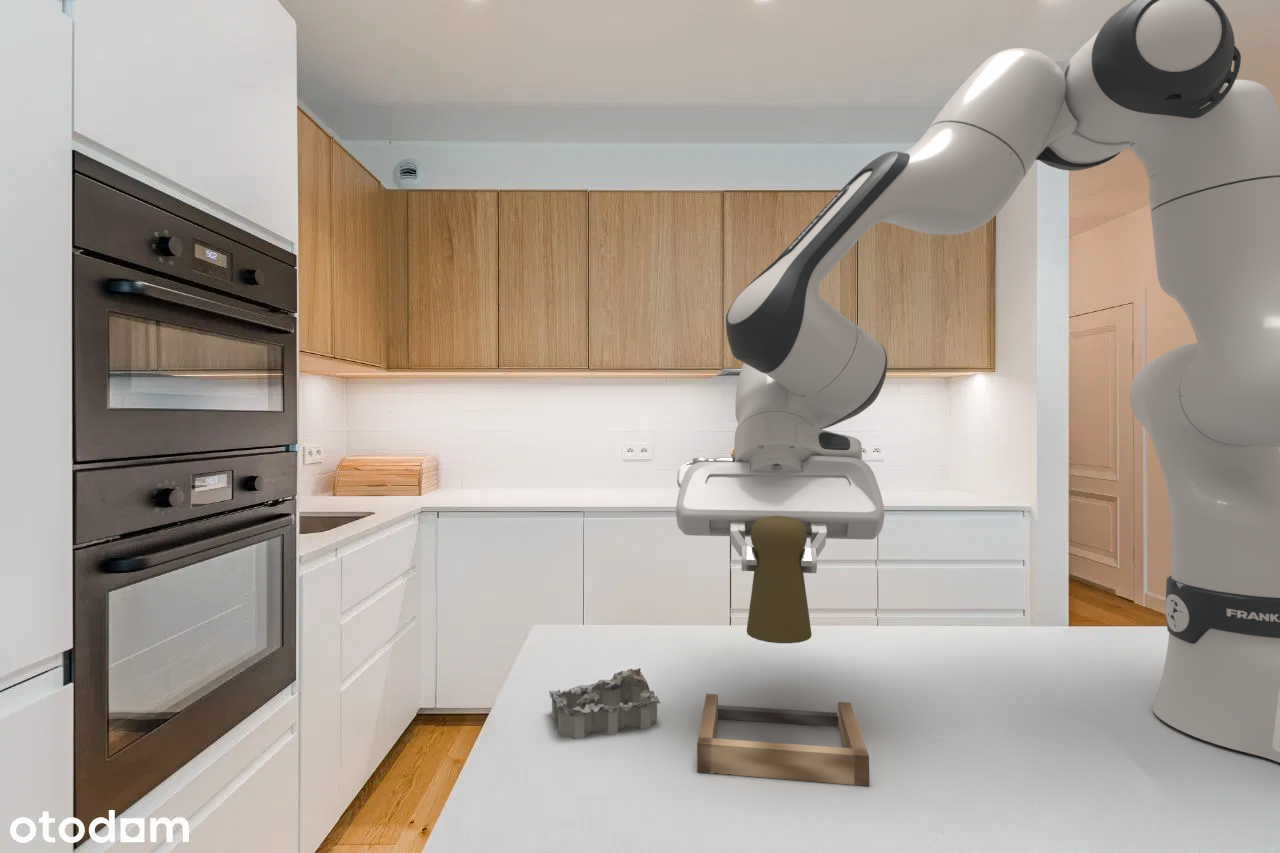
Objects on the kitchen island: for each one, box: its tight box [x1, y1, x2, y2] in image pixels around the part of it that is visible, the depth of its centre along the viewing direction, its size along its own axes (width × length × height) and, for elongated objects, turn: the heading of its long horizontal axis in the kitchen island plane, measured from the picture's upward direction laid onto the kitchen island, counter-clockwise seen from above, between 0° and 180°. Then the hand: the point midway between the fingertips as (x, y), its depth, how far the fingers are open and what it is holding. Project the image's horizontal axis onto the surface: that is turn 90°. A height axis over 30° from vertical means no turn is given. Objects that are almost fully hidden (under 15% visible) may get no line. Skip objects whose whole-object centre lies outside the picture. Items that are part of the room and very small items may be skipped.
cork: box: [746, 516, 813, 644], centre depth 64 cm, size 6×6×11 cm
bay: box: [696, 693, 870, 787], centre depth 64 cm, size 14×12×2 cm
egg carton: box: [548, 668, 661, 740], centre depth 70 cm, size 11×8×4 cm
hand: (778, 568), depth 64 cm, fingers closed on cork, 4 cm apart
